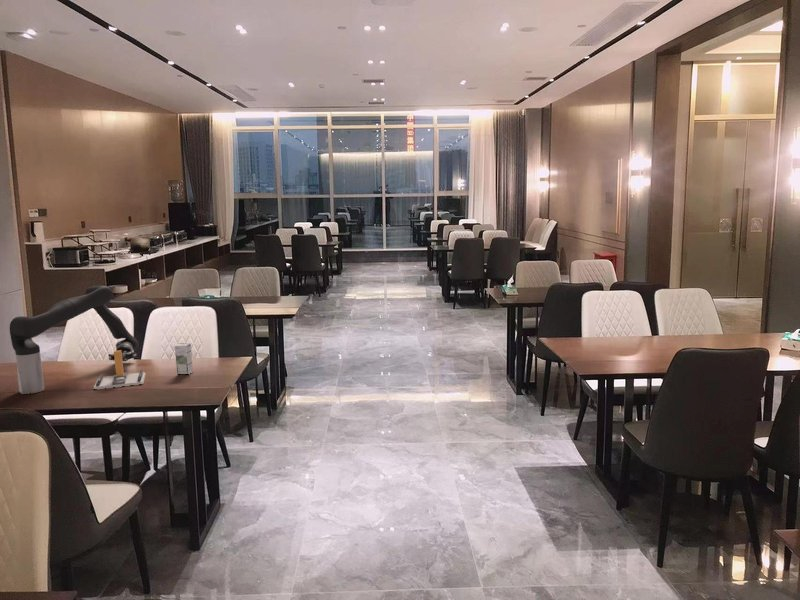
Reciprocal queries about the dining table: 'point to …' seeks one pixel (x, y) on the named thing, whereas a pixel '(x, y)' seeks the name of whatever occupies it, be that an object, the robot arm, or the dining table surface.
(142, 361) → the dining table surface
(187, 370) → the syrup box
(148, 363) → the dining table surface
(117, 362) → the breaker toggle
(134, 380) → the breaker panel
